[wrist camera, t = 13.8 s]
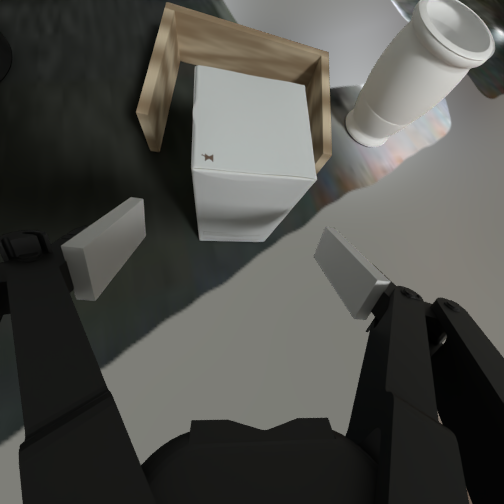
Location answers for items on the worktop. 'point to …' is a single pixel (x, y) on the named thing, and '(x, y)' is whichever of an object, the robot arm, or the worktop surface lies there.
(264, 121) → the supplement box
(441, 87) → the jar
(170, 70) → the wooden u-shaped frame
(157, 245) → the worktop surface
